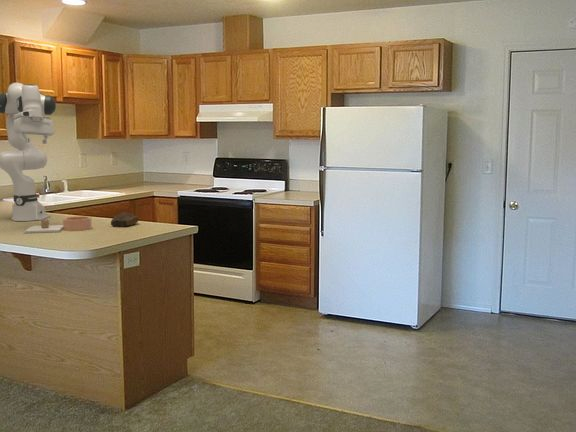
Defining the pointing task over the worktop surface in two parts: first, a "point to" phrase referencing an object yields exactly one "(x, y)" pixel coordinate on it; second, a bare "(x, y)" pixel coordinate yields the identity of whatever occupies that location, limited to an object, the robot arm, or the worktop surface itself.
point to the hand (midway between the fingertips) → (36, 142)
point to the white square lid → (44, 228)
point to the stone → (124, 220)
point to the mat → (46, 232)
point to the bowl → (77, 223)
